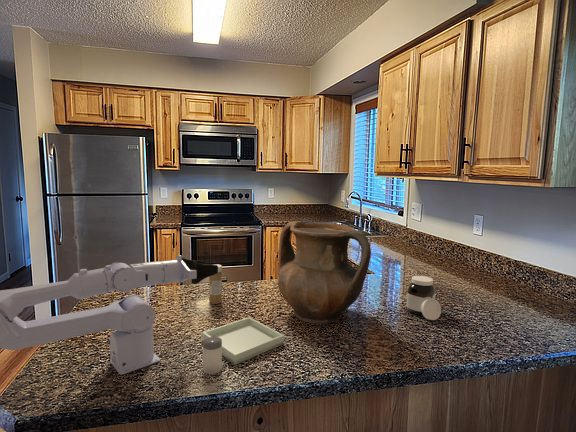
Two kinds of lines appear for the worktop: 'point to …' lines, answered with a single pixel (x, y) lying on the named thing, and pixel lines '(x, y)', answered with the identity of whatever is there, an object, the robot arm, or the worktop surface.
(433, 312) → the spread jar
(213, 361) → the cylinder
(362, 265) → the jug
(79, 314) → the robot arm
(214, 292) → the sprinkles bottle
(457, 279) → the worktop surface
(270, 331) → the tray
